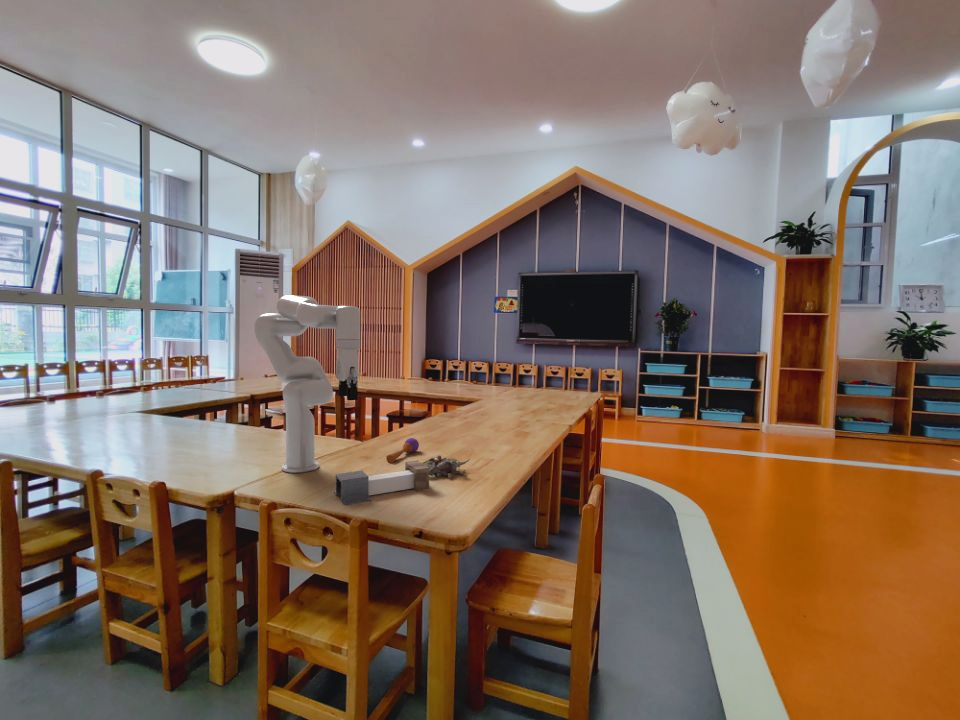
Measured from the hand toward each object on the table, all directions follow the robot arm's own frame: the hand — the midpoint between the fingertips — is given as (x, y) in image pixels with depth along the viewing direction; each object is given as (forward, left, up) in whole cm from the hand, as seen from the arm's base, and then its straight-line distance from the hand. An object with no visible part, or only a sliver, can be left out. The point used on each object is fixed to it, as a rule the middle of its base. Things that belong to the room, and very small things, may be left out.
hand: (347, 397), depth 153 cm
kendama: (-23, +29, -29) cm, 47 cm away
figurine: (+2, +32, -29) cm, 43 cm away
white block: (+12, +10, -28) cm, 32 cm away
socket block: (+12, +19, -28) cm, 36 cm away
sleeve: (+12, -2, -28) cm, 31 cm away
